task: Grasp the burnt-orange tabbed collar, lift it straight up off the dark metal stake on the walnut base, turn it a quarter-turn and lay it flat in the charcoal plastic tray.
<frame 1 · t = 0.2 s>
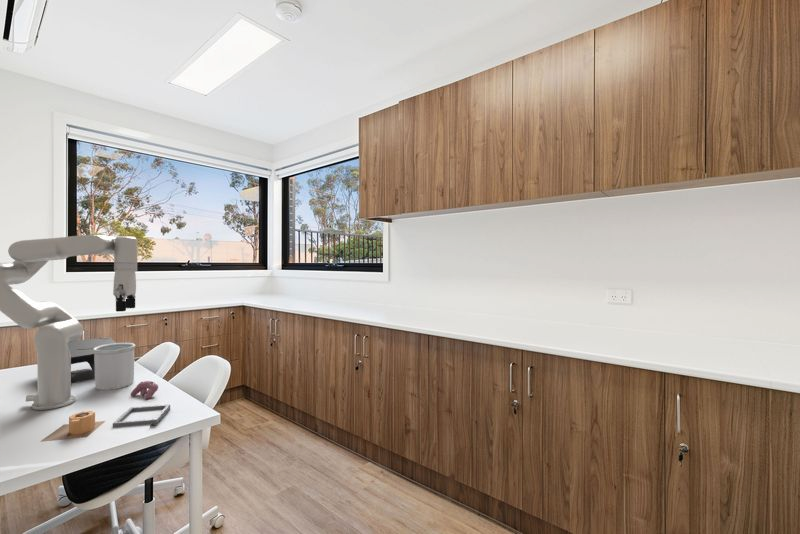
hand: (125, 309, 149), 36 cm above the table, tool pointing down, fingers open, 9 cm apart
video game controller: (144, 396, 154), on the table
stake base: (74, 432, 121), on the table
utensil holder: (114, 385, 166), on the table
portable electronic device stand: (85, 375, 180), on the table
collar: (82, 429, 121), point 1 cm above the table, touching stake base
tray: (143, 418, 132), on the table
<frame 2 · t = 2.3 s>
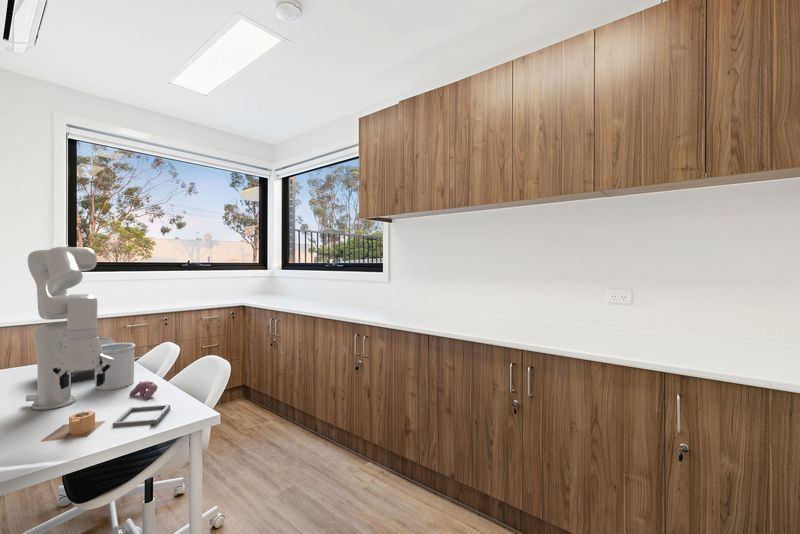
hand: (82, 386, 121), 15 cm above the table, tool pointing down, fingers open, 9 cm apart
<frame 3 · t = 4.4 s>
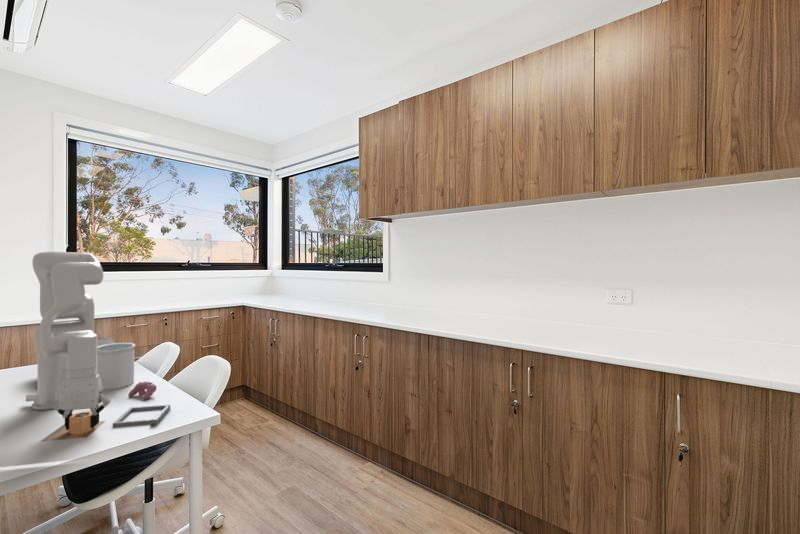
hand: (82, 426, 121), 2 cm above the table, tool pointing down, fingers closed on collar, 6 cm apart
collar: (82, 429, 121), point 1 cm above the table, touching gripper, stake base
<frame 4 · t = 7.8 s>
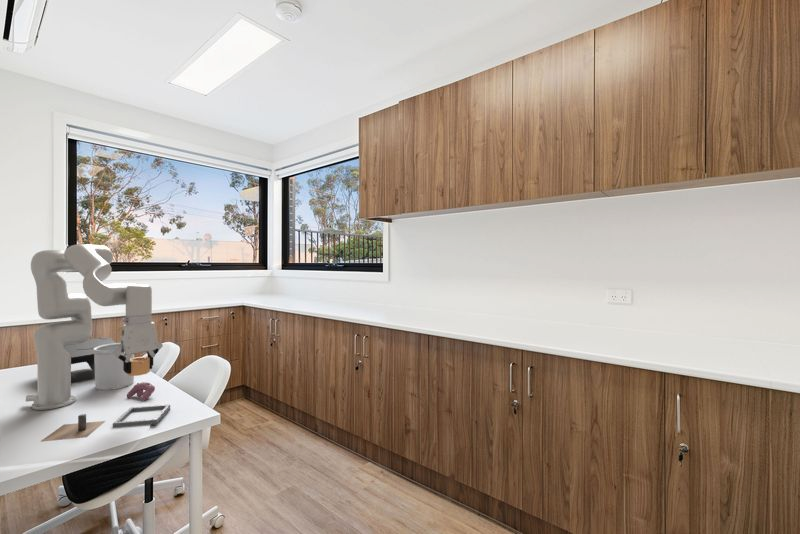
hand: (138, 370, 131), 18 cm above the table, tool pointing down, fingers closed on collar, 6 cm apart
collar: (138, 373, 131), point 17 cm above the table, touching gripper
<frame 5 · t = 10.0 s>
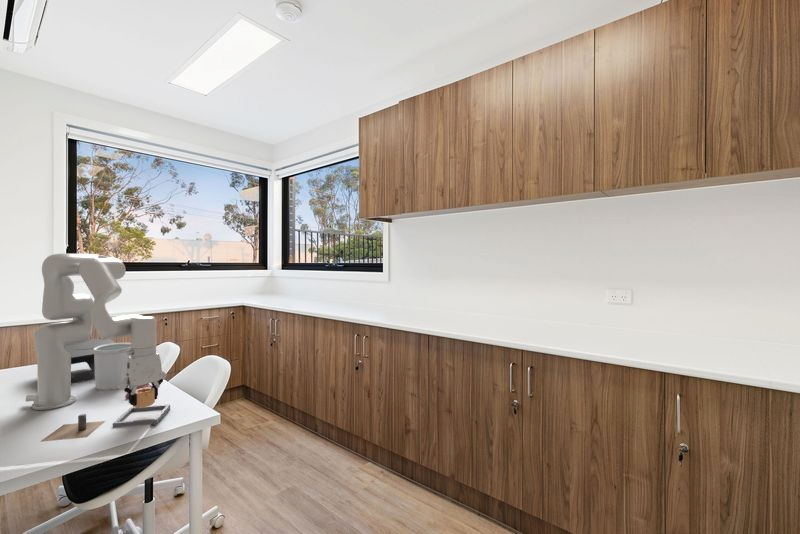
hand: (143, 401, 132), 6 cm above the table, tool pointing down, fingers closed on collar, 6 cm apart
collar: (143, 404, 132), point 5 cm above the table, touching gripper
when the fingers open (3 cm above the table, at t = 11.6 s): collar drops 1 cm, resting on tray.
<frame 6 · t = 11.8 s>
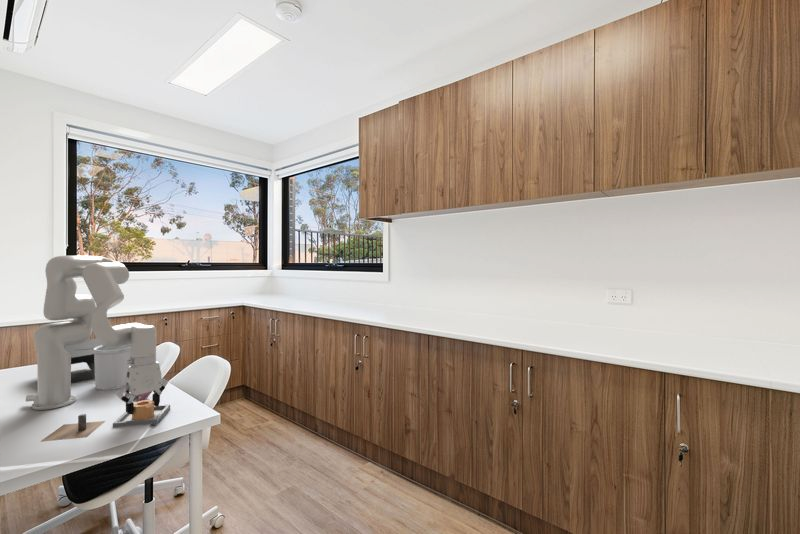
hand: (143, 409, 132), 4 cm above the table, tool pointing down, fingers open, 7 cm apart
collar: (143, 417, 132), point 1 cm above the table, touching tray
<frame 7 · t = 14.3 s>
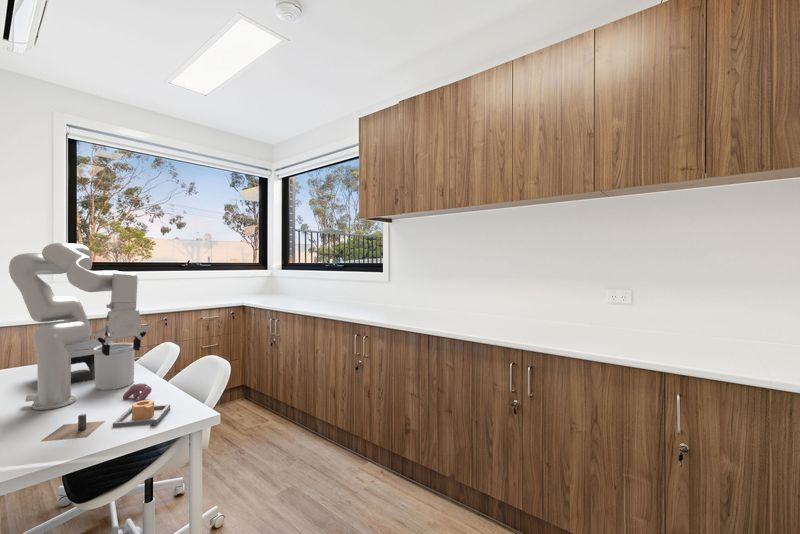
hand: (121, 352, 137), 22 cm above the table, tool pointing down, fingers open, 9 cm apart
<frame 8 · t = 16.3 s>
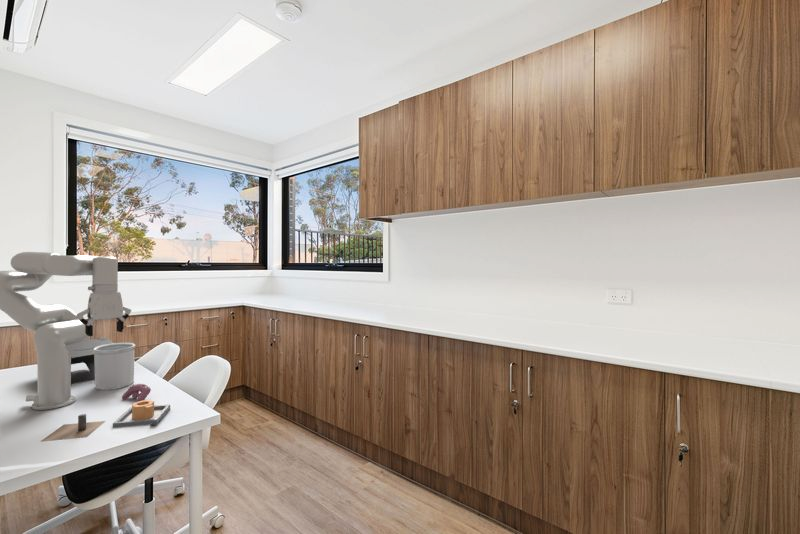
hand: (105, 333, 141), 28 cm above the table, tool pointing down, fingers open, 9 cm apart
at the end: collar inside the target area on the tray (0.0 cm from its centre), point 0.6 cm above the tray's base; collar tilted 0°; the gripper is holding nothing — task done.
